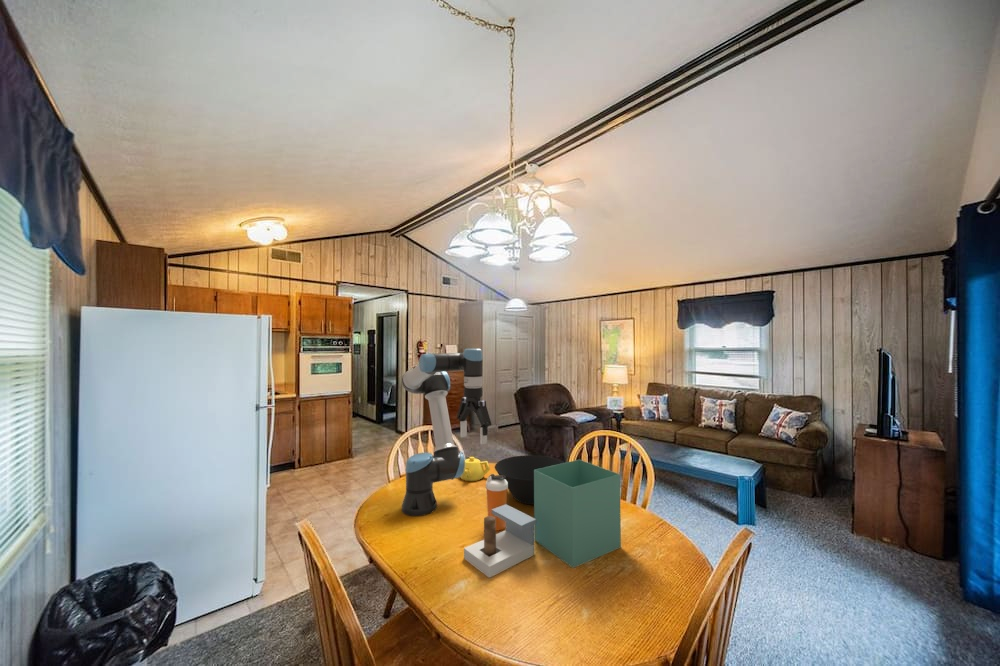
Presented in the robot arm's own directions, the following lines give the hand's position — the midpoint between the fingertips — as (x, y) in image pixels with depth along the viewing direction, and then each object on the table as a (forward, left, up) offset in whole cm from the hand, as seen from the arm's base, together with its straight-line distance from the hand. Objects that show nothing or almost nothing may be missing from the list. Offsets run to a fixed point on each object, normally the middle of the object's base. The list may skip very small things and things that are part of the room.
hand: (473, 440), depth 151 cm
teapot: (-45, +31, -35) cm, 65 cm away
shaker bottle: (+5, +8, -35) cm, 36 cm away
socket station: (+22, -5, -35) cm, 41 cm away
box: (+34, +22, -35) cm, 54 cm away
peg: (+22, -9, -35) cm, 42 cm away
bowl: (-5, +38, -35) cm, 52 cm away
